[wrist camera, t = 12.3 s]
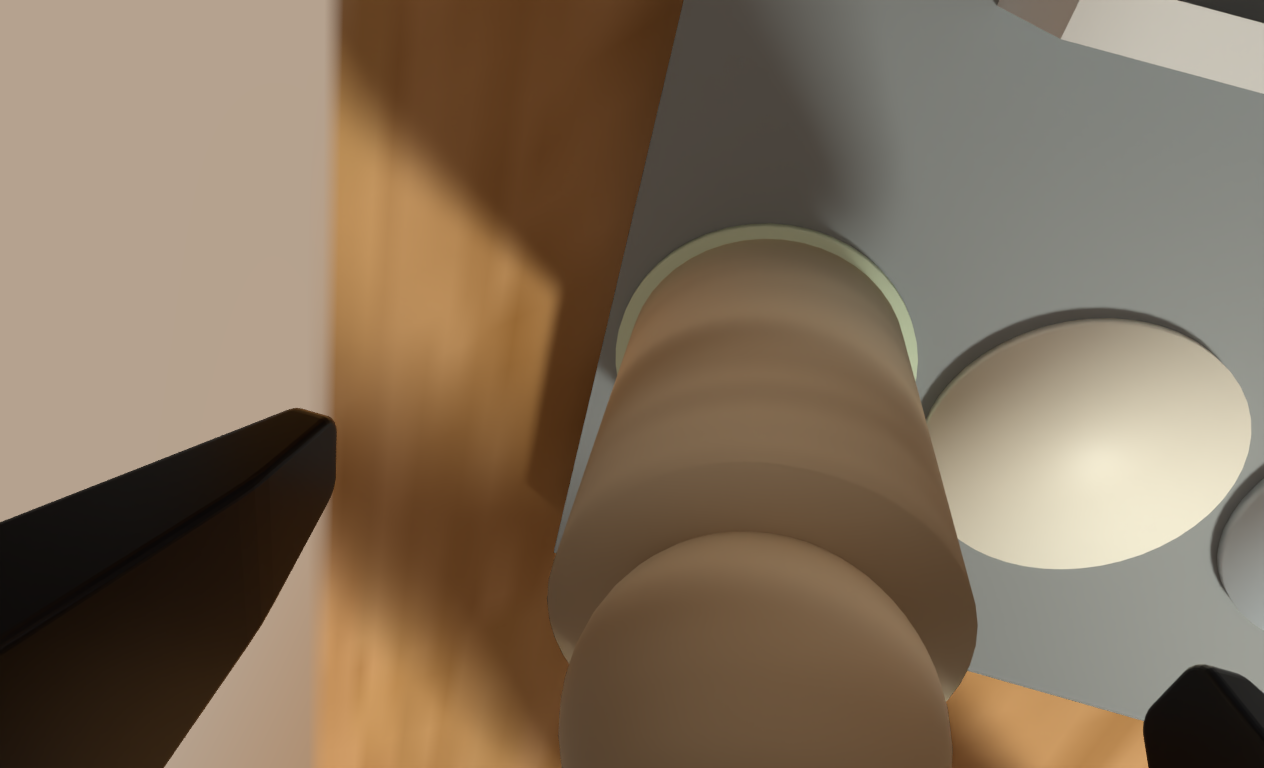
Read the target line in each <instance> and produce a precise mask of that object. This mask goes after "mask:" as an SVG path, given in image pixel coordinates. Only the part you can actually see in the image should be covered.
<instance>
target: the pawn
mask: <svg viewBox="0 0 1264 768" xmlns="http://www.w3.org/2000/svg"><path fill="white" fill-rule="evenodd" d="M547 602H548V611H549V619H550V622H551V626H552V629H553V633H554V636H555V639H556V641H557V643H558V645H559V647H560V649H561V651H562V654H563V655H564V657H565V658H566V660H567V661H568V663H569V666H568V669H567V673H566V676H565V680H564V685H563V690H562V695H561V703H560V713H559V735H558V736H559V746H560V756H561V765H562V768H952V751H953V747H952V738H951V730H950V722H949V715H948V708H947V704H946V701H947V700H948V699H949V698H950V696H951V695H952V694H953V692H954V691H955V690H956V688H957V687H958V686H959V685H960V683H961V681H962V679H963V678H964V676H965V674H966V672H967V670H968V668H969V666H970V663H971V660H972V657H973V653H974V650H975V647H976V639H977V628H978V623H977V613H976V604H975V600H974V597H973V593H972V589H971V586H970V582H969V578H968V574H967V571H966V567H965V563H964V560H963V556H962V552H961V549H960V545H959V541H958V537H957V534H956V530H955V526H954V523H953V519H952V515H951V512H950V508H949V504H948V500H947V497H946V493H945V489H944V486H943V482H942V478H941V474H940V471H939V467H938V463H937V460H936V456H935V452H934V449H933V445H932V441H931V437H930V434H929V430H928V426H927V423H926V419H925V415H924V412H923V408H922V404H921V400H920V397H919V393H918V389H917V386H916V382H915V378H914V375H913V371H912V367H911V363H910V360H909V356H908V352H907V349H906V345H905V341H904V337H903V334H902V331H901V327H900V324H899V321H898V318H897V316H896V314H895V312H894V310H893V308H892V306H891V304H890V303H889V301H888V300H887V298H886V297H885V295H884V294H883V292H882V291H881V290H880V289H879V288H878V287H877V285H876V284H875V283H874V282H873V281H872V280H871V279H870V278H869V277H868V276H867V275H866V274H864V273H863V272H862V271H861V270H859V269H858V268H857V267H856V266H854V265H853V264H851V263H849V262H848V261H846V260H844V259H843V258H841V257H839V256H838V255H835V254H833V253H831V252H828V251H826V250H824V249H822V248H819V247H815V246H812V245H808V244H805V243H801V242H795V241H789V240H783V239H754V240H743V241H738V242H733V243H729V244H724V245H721V246H718V247H715V248H713V249H710V250H707V251H705V252H703V253H701V254H699V255H697V256H695V257H693V258H691V259H689V260H687V261H686V262H684V263H683V264H681V265H680V266H678V267H677V268H675V269H674V270H673V271H672V272H671V273H670V274H669V275H667V276H666V277H665V278H664V279H663V280H662V281H661V282H660V283H659V284H658V286H657V287H656V288H655V289H654V290H653V291H652V292H651V294H650V295H649V297H648V299H647V300H646V302H645V303H644V305H643V306H642V308H641V311H640V313H639V315H638V317H637V320H636V322H635V325H634V328H633V331H632V334H631V337H630V340H629V342H628V345H627V348H626V351H625V354H624V357H623V360H622V363H621V366H620V369H619V372H618V375H617V378H616V381H615V383H614V386H613V389H612V392H611V395H610V398H609V401H608V404H607V407H606V410H605V413H604V416H603V419H602V422H601V424H600V427H599V430H598V433H597V436H596V439H595V442H594V445H593V448H592V451H591V454H590V457H589V460H588V463H587V465H586V468H585V471H584V474H583V477H582V480H581V483H580V486H579V489H578V492H577V495H576V498H575V501H574V504H573V506H572V509H571V512H570V515H569V518H568V521H567V524H566V527H565V530H564V533H563V536H562V539H561V542H560V545H559V547H558V550H557V553H556V556H555V559H554V562H553V566H552V570H551V574H550V577H549V582H548V596H547Z"/></svg>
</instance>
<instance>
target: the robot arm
mask: <svg viewBox="0 0 1264 768" xmlns="http://www.w3.org/2000/svg"><path fill="white" fill-rule="evenodd" d="M336 437H337V430H336V425H335V422H334V420H333V419H332V418H330V417H329V416H326V415H322V414H319V413H315V412H311V411H308V410H305V409H300V408H293V409H289V410H286V411H284V412H281V413H279V414H276V415H273V416H271V417H268V418H266V419H263V420H261V421H258V422H256V423H253V424H251V425H248V426H245V427H243V428H241V429H238V430H235V431H233V432H230V433H228V434H225V435H222V436H220V437H217V438H215V439H212V440H210V441H207V442H204V443H202V444H199V445H197V446H194V447H192V448H189V449H187V450H184V451H182V452H179V453H176V454H174V455H171V456H169V457H166V458H164V459H161V460H158V461H156V462H153V463H151V464H148V465H146V466H143V467H141V468H138V469H136V470H133V471H131V472H128V473H125V474H123V475H120V476H118V477H115V478H112V479H110V480H107V481H105V482H102V483H100V484H97V485H95V486H92V487H89V488H87V489H84V490H82V491H79V492H77V493H74V494H72V495H69V496H66V497H64V498H61V499H59V500H56V501H54V502H51V503H49V504H46V505H44V506H41V507H38V508H36V509H33V510H31V511H28V512H26V513H23V514H21V515H18V516H15V517H13V518H11V519H8V520H5V521H3V522H0V768H164V767H165V765H166V764H167V762H168V761H169V759H170V758H171V757H172V755H173V754H174V752H175V751H176V749H177V748H178V746H179V745H180V743H181V742H182V741H183V739H184V738H185V736H186V735H187V733H188V732H189V730H190V729H191V727H192V726H193V725H194V723H195V722H196V720H197V719H198V717H199V716H200V715H201V713H202V712H203V710H204V709H205V707H206V706H207V704H208V703H209V701H210V700H211V699H212V697H213V696H214V694H215V693H216V691H217V690H218V688H219V687H220V686H221V684H222V683H223V681H224V680H225V678H226V677H227V675H228V674H229V672H230V671H231V670H232V668H233V667H234V665H235V664H236V662H237V661H238V660H239V658H240V656H241V655H242V654H243V652H244V651H245V649H246V648H247V646H248V645H249V643H250V642H251V640H252V639H253V637H254V636H255V634H256V633H257V631H258V630H259V628H260V626H261V625H262V623H263V622H264V620H265V618H266V616H267V615H268V613H269V611H270V609H271V607H272V606H273V604H274V602H275V600H276V598H277V597H278V595H279V592H280V591H281V589H282V587H283V585H284V584H285V582H286V580H287V578H288V576H289V574H290V572H291V570H292V569H293V567H294V565H295V563H296V561H297V559H298V557H299V556H300V554H301V552H302V550H303V548H304V546H305V544H306V543H307V541H308V539H309V537H310V535H311V533H312V531H313V529H314V528H315V526H316V524H317V522H318V520H319V518H320V516H321V515H322V513H323V511H324V509H325V507H326V505H327V503H328V501H329V499H330V497H331V495H332V492H333V489H334V485H335V478H336ZM1143 735H1144V742H1145V748H1146V754H1147V761H1148V767H1149V768H1264V693H1263V692H1262V691H1261V690H1260V689H1259V688H1258V687H1256V686H1255V685H1254V684H1253V683H1252V682H1251V681H1250V680H1248V679H1247V678H1245V677H1244V676H1242V675H1240V674H1238V673H1235V672H1231V671H1228V670H1224V669H1221V668H1217V667H1214V666H1210V665H1206V664H1196V665H1194V666H1191V667H1189V668H1188V669H1186V670H1185V671H1184V672H1183V673H1182V674H1181V675H1180V676H1179V677H1178V678H1177V679H1176V681H1175V682H1174V683H1173V684H1172V685H1171V686H1170V687H1169V688H1168V689H1167V690H1166V691H1165V692H1164V693H1163V694H1162V695H1161V696H1160V697H1159V698H1158V699H1157V700H1156V701H1155V702H1154V703H1153V705H1152V706H1151V707H1150V708H1149V709H1148V711H1147V713H1146V715H1145V719H1144V724H1143Z"/></svg>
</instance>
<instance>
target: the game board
mask: <svg viewBox="0 0 1264 768" xmlns="http://www.w3.org/2000/svg"><path fill="white" fill-rule="evenodd" d="M754 239H783V240H789V241H795V242H801V243H805V244H808V245H812V246H815V247H819V248H822V249H824V250H826V251H828V252H831V253H833V254H835V255H838V256H839V257H841V258H843V259H844V260H846V261H848V262H849V263H851V264H853V265H854V266H856V267H857V268H858V269H859V270H861V271H862V272H863V273H864V274H866V275H867V276H868V277H869V278H870V279H871V280H872V281H873V282H874V283H875V284H876V285H877V287H878V288H879V289H880V290H881V291H882V292H883V294H884V295H885V297H886V298H887V300H888V301H889V303H890V304H891V306H892V308H893V310H894V312H895V314H896V316H897V318H898V321H899V324H900V327H901V331H902V334H903V337H904V341H905V345H906V349H907V352H908V356H909V360H910V363H911V367H912V371H913V375H914V378H915V382H916V386H917V389H918V393H919V397H920V400H921V404H922V408H923V412H924V415H925V419H926V423H927V426H928V430H929V434H930V437H931V441H932V445H933V449H934V452H935V456H936V460H937V463H938V467H939V471H940V474H941V478H942V482H943V486H944V489H945V493H946V497H947V500H948V504H949V508H950V512H951V515H952V519H953V523H954V526H955V530H956V534H957V537H958V541H959V545H960V549H961V552H962V556H963V560H964V563H965V567H966V571H967V574H968V578H969V582H970V586H971V589H972V593H973V597H974V600H975V604H976V613H977V623H978V628H977V639H976V647H975V650H974V653H973V657H972V660H971V663H970V666H969V668H968V670H967V671H971V672H974V673H978V674H981V675H985V676H988V677H992V678H995V679H999V680H1002V681H1006V682H1009V683H1013V684H1016V685H1020V686H1023V687H1027V688H1030V689H1034V690H1037V691H1041V692H1044V693H1048V694H1051V695H1055V696H1058V697H1062V698H1065V699H1069V700H1072V701H1076V702H1079V703H1083V704H1086V705H1090V706H1093V707H1097V708H1100V709H1104V710H1107V711H1111V712H1114V713H1118V714H1121V715H1125V716H1128V717H1132V718H1135V719H1139V720H1142V721H1144V719H1145V715H1146V713H1147V711H1148V709H1149V708H1150V707H1151V706H1152V705H1153V703H1154V702H1155V701H1156V700H1157V699H1158V698H1159V697H1160V696H1161V695H1162V694H1163V693H1164V692H1165V691H1166V690H1167V689H1168V688H1169V687H1170V686H1171V685H1172V684H1173V683H1174V682H1175V681H1176V679H1177V678H1178V677H1179V676H1180V675H1181V674H1182V673H1183V672H1184V671H1185V670H1186V669H1188V668H1189V667H1191V666H1194V665H1196V664H1206V665H1210V666H1214V667H1217V668H1221V669H1224V670H1228V671H1231V672H1235V673H1238V674H1240V675H1242V676H1244V677H1245V678H1247V679H1248V680H1250V681H1251V682H1252V683H1253V684H1254V685H1255V686H1256V687H1258V688H1259V689H1260V690H1261V691H1262V692H1263V693H1264V0H684V1H683V5H682V10H681V14H680V18H679V22H678V27H677V31H676V35H675V39H674V44H673V48H672V52H671V56H670V61H669V65H668V69H667V73H666V78H665V82H664V86H663V90H662V94H661V99H660V103H659V107H658V111H657V116H656V120H655V124H654V128H653V133H652V137H651V141H650V145H649V150H648V154H647V158H646V162H645V167H644V171H643V175H642V179H641V184H640V188H639V192H638V196H637V201H636V205H635V209H634V213H633V218H632V222H631V226H630V230H629V235H628V239H627V243H626V247H625V252H624V256H623V260H622V264H621V269H620V273H619V277H618V281H617V286H616V290H615V294H614V298H613V303H612V307H611V311H610V315H609V320H608V324H607V328H606V332H605V337H604V341H603V345H602V349H601V354H600V358H599V362H598V366H597V371H596V375H595V379H594V383H593V388H592V392H591V396H590V400H589V405H588V409H587V413H586V417H585V422H584V426H583V430H582V434H581V439H580V443H579V447H578V451H577V456H576V460H575V464H574V468H573V473H572V477H571V481H570V485H569V489H568V494H567V498H566V502H565V506H564V511H563V515H562V519H561V523H560V528H559V532H558V536H557V540H556V545H555V549H554V553H557V550H558V547H559V545H560V542H561V539H562V536H563V533H564V530H565V527H566V524H567V521H568V518H569V515H570V512H571V509H572V506H573V504H574V501H575V498H576V495H577V492H578V489H579V486H580V483H581V480H582V477H583V474H584V471H585V468H586V465H587V463H588V460H589V457H590V454H591V451H592V448H593V445H594V442H595V439H596V436H597V433H598V430H599V427H600V424H601V422H602V419H603V416H604V413H605V410H606V407H607V404H608V401H609V398H610V395H611V392H612V389H613V386H614V383H615V381H616V378H617V375H618V372H619V369H620V366H621V363H622V360H623V357H624V354H625V351H626V348H627V345H628V342H629V340H630V337H631V334H632V331H633V328H634V325H635V322H636V320H637V317H638V315H639V313H640V311H641V308H642V306H643V305H644V303H645V302H646V300H647V299H648V297H649V295H650V294H651V292H652V291H653V290H654V289H655V288H656V287H657V286H658V284H659V283H660V282H661V281H662V280H663V279H664V278H665V277H666V276H667V275H669V274H670V273H671V272H672V271H673V270H674V269H675V268H677V267H678V266H680V265H681V264H683V263H684V262H686V261H687V260H689V259H691V258H693V257H695V256H697V255H699V254H701V253H703V252H705V251H707V250H710V249H713V248H715V247H718V246H721V245H724V244H729V243H733V242H738V241H743V240H754Z"/></svg>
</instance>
